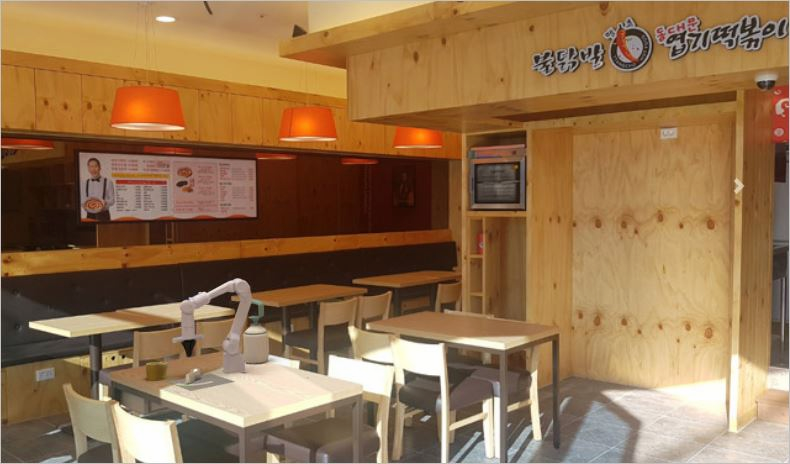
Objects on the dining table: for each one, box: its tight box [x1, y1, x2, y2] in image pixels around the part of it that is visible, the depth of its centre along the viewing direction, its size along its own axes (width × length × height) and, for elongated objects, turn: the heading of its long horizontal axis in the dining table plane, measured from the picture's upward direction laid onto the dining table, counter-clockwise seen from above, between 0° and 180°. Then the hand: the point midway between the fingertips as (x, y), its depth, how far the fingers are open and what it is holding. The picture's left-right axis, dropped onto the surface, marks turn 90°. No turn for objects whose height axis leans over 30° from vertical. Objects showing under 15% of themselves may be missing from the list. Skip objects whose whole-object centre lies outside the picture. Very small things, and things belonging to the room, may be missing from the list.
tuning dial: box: [185, 367, 202, 384], centre depth 309 cm, size 13×4×4 cm, turn 172°
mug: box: [145, 361, 169, 382], centre depth 318 cm, size 12×10×10 cm
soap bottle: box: [242, 298, 270, 365], centre depth 350 cm, size 12×12×31 cm
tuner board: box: [168, 373, 236, 392], centre depth 308 cm, size 21×22×1 cm
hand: (188, 356), depth 319 cm, fingers closed
